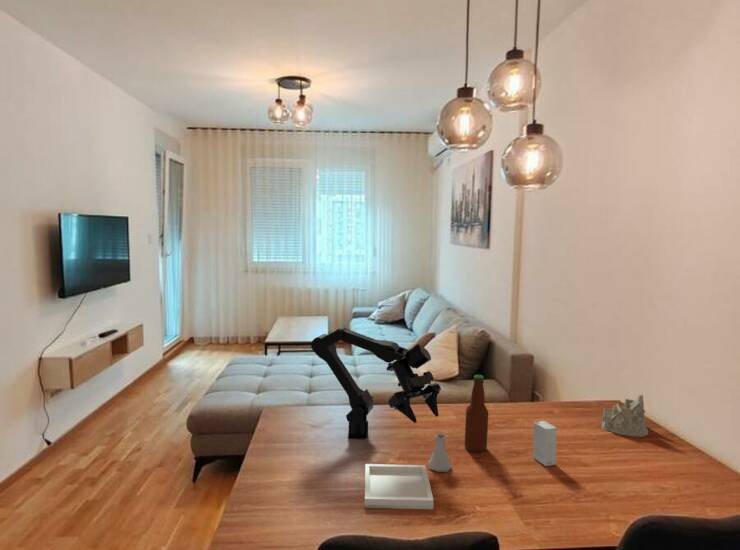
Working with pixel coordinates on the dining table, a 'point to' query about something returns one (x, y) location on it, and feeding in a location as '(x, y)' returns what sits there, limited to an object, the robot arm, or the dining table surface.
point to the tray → (397, 487)
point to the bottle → (476, 418)
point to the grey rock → (626, 418)
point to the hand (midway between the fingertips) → (426, 419)
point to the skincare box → (544, 443)
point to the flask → (440, 456)
